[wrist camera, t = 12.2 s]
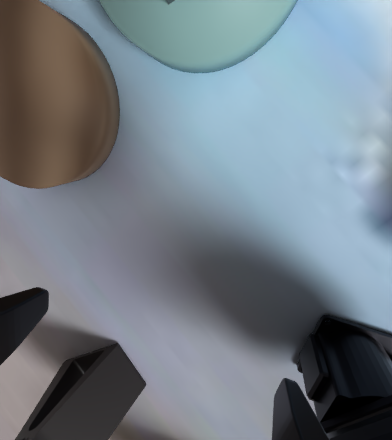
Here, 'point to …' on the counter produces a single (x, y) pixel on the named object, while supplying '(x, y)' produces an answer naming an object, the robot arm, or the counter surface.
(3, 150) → the stand
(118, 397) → the phone stand
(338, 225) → the counter surface
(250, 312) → the counter surface
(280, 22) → the stand
